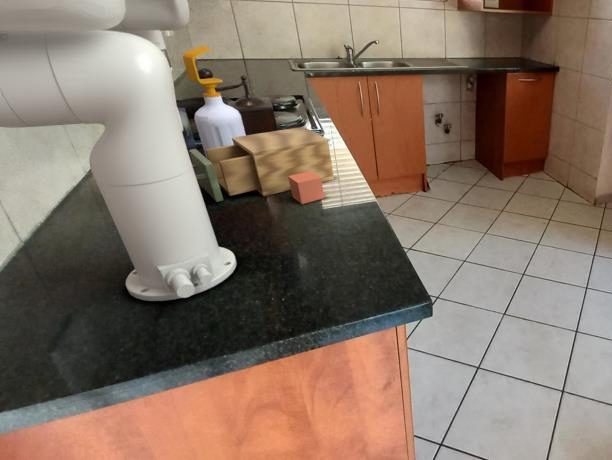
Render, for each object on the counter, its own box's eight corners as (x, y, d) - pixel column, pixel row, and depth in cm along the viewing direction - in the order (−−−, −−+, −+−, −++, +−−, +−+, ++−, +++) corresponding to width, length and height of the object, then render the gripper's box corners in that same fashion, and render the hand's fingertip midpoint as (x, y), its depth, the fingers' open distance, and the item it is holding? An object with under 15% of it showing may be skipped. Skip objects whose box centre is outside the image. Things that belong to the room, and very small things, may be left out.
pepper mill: (277, 131, 123) (263, 65, 114) (281, 142, 115) (266, 71, 106) (214, 136, 116) (194, 66, 107) (213, 148, 108) (191, 73, 99)
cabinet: (263, 196, 84) (252, 152, 80) (242, 179, 91) (231, 137, 87) (334, 179, 94) (327, 139, 90) (310, 164, 101) (303, 126, 97)
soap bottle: (258, 155, 104) (232, 48, 93) (218, 165, 98) (185, 50, 86) (238, 148, 108) (210, 44, 97) (199, 157, 102) (164, 46, 90)
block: (324, 198, 85) (321, 177, 83) (301, 204, 82) (297, 182, 80) (314, 191, 88) (310, 170, 86) (292, 197, 85) (287, 176, 83)
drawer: (183, 209, 76) (169, 171, 72) (168, 191, 82) (155, 155, 79) (290, 184, 88) (283, 150, 84) (270, 170, 94) (263, 137, 91)
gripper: (104, 58, 71) (144, 163, 79) (119, 68, 62) (162, 186, 70) (159, 56, 76) (191, 155, 84) (180, 65, 67) (214, 175, 75)
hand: (178, 169), depth 77 cm, fingers closed
